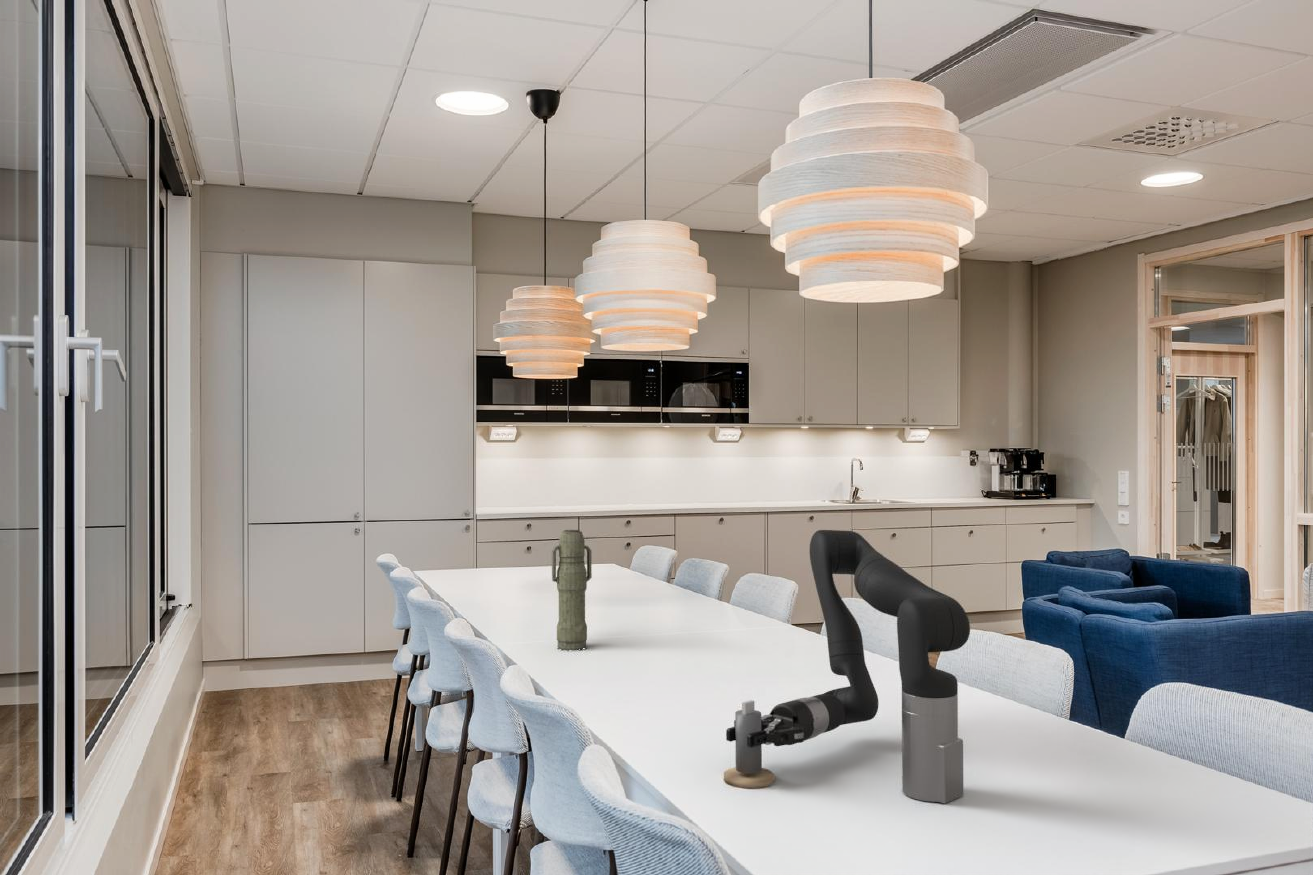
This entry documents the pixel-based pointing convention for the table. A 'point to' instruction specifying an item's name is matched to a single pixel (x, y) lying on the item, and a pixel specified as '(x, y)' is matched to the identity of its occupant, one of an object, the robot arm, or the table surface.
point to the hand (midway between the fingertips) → (738, 738)
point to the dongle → (744, 725)
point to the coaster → (749, 778)
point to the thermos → (571, 589)
